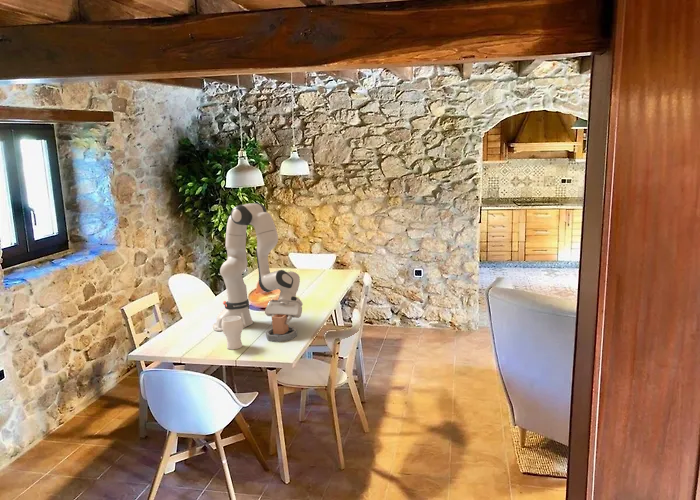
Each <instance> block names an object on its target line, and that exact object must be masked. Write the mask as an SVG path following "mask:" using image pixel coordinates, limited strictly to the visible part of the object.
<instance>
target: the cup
mask: <svg viewBox="0 0 700 500" xmlns="http://www.w3.org/2000/svg"><path fill="white" fill-rule="evenodd" d="M221 325H222V330H223V331H222V333H223V334H224V336H225V337H226V341H227V342H226V349H228V350H237V349H238V350H239V349H240V348H242V347H243V342H242V338H241V337H242V332H243V330H244V328H243V322H242V319H241V317H240V316H229V317H225V318H223V319H222V324H221Z"/></svg>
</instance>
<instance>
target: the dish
mask: <svg viewBox="0 0 700 500" xmlns="http://www.w3.org/2000/svg"><path fill="white" fill-rule="evenodd" d="M288 328H289V331H288V332H286V333H285V334H273V327H272V328H270V329H267V331H265V336H266V339H267V341H268V342H276V343H280V342H281V343H282V342H286V341H291V340H293V339H295V338H296V337H297V333H298V332H297V329H296V328H295V327H294V326H288Z"/></svg>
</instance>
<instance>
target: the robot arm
mask: <svg viewBox="0 0 700 500" xmlns="http://www.w3.org/2000/svg"><path fill="white" fill-rule="evenodd" d="M248 226H252V227H253V228H254V230H255V231H254V232H255V234H256V235H255V236H256V240H257V241H256V242H257V243H256V248H255V255H256V256H255V257H256V262H257V263H256V265H257V270H258V271H257V272H258V285H259V288H260V289H261V290H262V291H263V292H265V293H271V292H274V291H276V290H279V291H280V293H279V295H278V299H271V300H269V301H268V303H267V305H266V307H265V310H264V314H265V315H266V316H267V317H271V318H272V317H273V316H275V315H287V317H288V319H287V320H285V322H284V324H287V325H288V326H289V324H290V322H291V320H292V319H293V318H294V319H295V318H296V319H297V318H298V319H299V318H300V317H301V316H302V314H303V302H302V300H301V299H300V298H299V297H297V293H298V291H299V286H300V282H301V281H300V280H301V278H300V275H299V274H298V273H296V272H294V271H286V270H284V269H280V270H279V269H278V270H275V271H272V272H271V271H270V266H269V254H270V253H271V251H273V249H274V248H275V247H276V246H277V244H278V243H279V234H278V231H277V227H276V224H275V222H274V219H273V217H272V215H271V214H270V213H269V212H268V211H267V208H266V206H265V205H263V204H262V203H258V202H255V203H246V204H238V205H236V206H234V207H233V208H232V210H231V212H230V215H229V216H228V219H227V223H226V231H225V246H224V247H225V249H226V254H227V255H226V256H227V258H226V260H225V261H224V262H223V263H222V264H221V266H220V268H219V274H220V276H221V277H222V279H223V282H224V285H225V288H226V294H227V295H226V297H227V301H226V300H224V301H223V303H222V304H223V305H224V309H223V310H221V311H220V312H219V313H218V314H217V316H216V322H214V323H213V324H212V329H213V331H216V332H223V330H222V325H221V324H222V319H223V318H225V317H229V316H240V317H241V319H242V322H243V329H245V328H247V327H248V326H251V325H252V324H253V323H254V322H253V318H252V316H251V312H250V301H249V297H248V292H247V291H248V290H247V285H246V284H245V282H244V278H243V277H244V276H243V273H244V272H245V271H246V270H247V267H248V266H249V265H248V264H249V263H248V259H247V258H248V257H247V249H246V246H247V245H246V244H247V243H246V242H247V241H246V240H247V230H248V229H247V228H248Z"/></svg>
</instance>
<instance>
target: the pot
mask: <svg viewBox="0 0 700 500" xmlns="http://www.w3.org/2000/svg"><path fill="white" fill-rule="evenodd" d="M287 319H288V317H287V315H275V316H273V317H271V324H272V328H273V334H285V333H286V332H288V331H289V328H288V327H289V324H288V325H287V324H284V322H285V320H287Z"/></svg>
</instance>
